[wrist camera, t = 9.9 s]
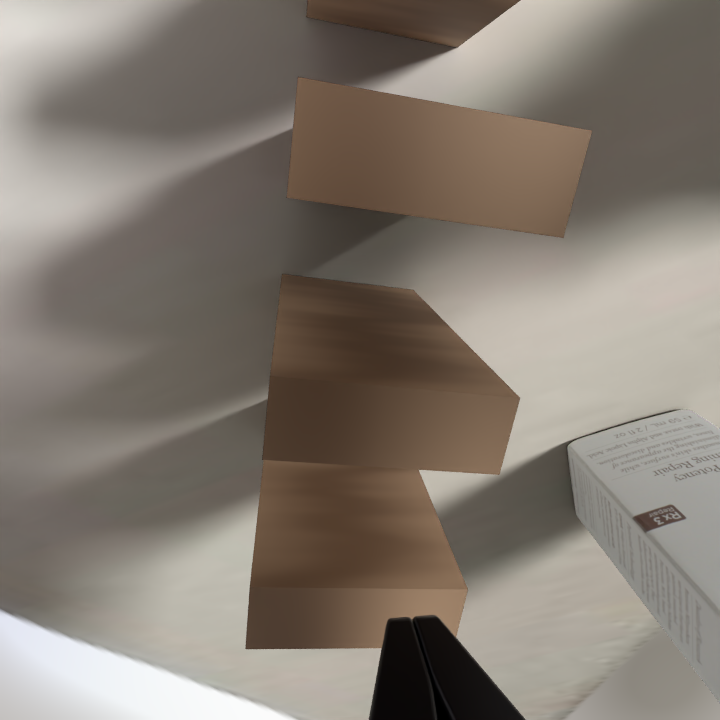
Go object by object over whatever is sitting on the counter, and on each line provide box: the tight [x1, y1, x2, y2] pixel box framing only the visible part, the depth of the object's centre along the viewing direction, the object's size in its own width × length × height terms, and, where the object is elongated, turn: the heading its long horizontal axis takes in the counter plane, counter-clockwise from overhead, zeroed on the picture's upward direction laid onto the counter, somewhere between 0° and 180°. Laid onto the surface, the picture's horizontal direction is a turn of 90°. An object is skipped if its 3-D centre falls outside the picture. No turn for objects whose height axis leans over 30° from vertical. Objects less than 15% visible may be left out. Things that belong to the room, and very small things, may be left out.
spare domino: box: [246, 460, 468, 649], centre depth 17 cm, size 5×2×10 cm, turn 83°
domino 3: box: [287, 77, 592, 238], centre depth 13 cm, size 5×2×10 cm, turn 82°
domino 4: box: [262, 274, 520, 475], centre depth 15 cm, size 5×2×10 cm, turn 82°
